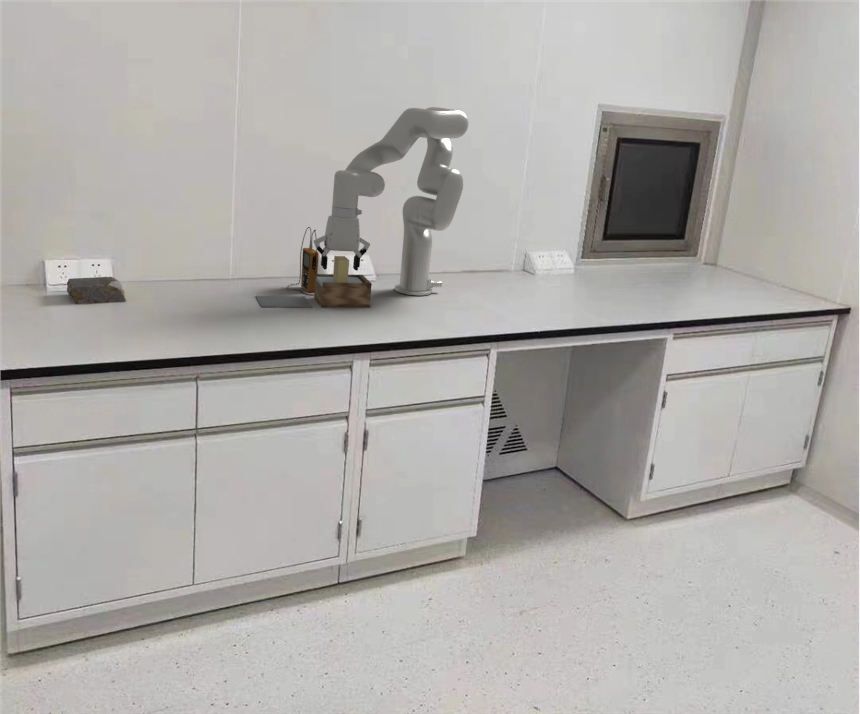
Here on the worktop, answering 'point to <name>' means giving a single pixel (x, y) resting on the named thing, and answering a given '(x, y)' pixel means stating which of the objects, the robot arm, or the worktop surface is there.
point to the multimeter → (308, 267)
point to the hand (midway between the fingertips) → (340, 269)
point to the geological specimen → (95, 290)
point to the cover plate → (330, 279)
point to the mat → (284, 301)
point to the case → (343, 293)
